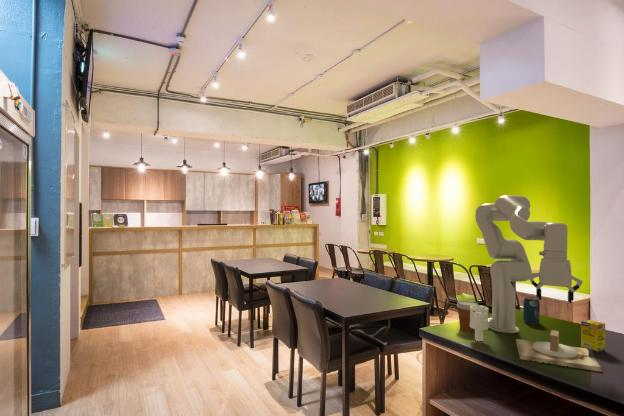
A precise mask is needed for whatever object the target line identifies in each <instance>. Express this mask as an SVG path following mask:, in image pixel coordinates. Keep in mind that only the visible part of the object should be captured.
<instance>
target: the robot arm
mask: <svg viewBox="0 0 624 416" xmlns="http://www.w3.org/2000/svg"><path fill="white" fill-rule="evenodd" d="M530 209H531V202H530V200H529V198H527V197H526V196H524V195H512V194H511V195H510V194H509V195H506V194H505V195H502V196H499V197H498V198H497V199H496V200H495V202H494V203H483V204H480V205H478V206H477V207H476V210H475V221H476V224H477V227H478V229H479V230H480V232H481V234H482V236H483V237H482V238H483V241H484V244H485V246H486V250H487V254H488V255H489V257H490V258H491V259H492V260H496V261H493V262H492V263H491V264H490V268H489V269H490V271H489V273H490V277H491V286H492V288H491V290H492V292H491V293H492V294H491V295H492V298H491V299H492V303H491V306H492V307H491V308H492V309H491V310H492V311H491V312H492V313H491V316H490V317H488V329H490V330H492V331H493V332H498V333H504V334H517V333H519V332H520V328H519V327H517V326H516V300H517V299H516V296H517V295H516V294H517V293H516V290H515V287H514V286H513V284H512V282H527V281H530V283H531V285H533V286H534V288H536V293H535V294H536V297H535V298H538V300H539V301H541V300H542V289H541V288H542V287H544V286H549V287H559V288H560V287H561V288H567V289H568V291H567V302H568V303H569V304H572V301H574V299H575V298H574V297H575V296H574V293H575V292H576V291H578V290H579V289H580V287H581V286H582V284H583V283H584V280H581V279H580V278H577V277H576V276H574V275H573V274H572V266H571V261H570V259H568V229H569V228H568V225H567V224H566V223H564V222H552V221H537V220H536V221H528V220H529V219H530V217H531V210H530ZM494 222H509V227H510V230H511V231H512V233H513V234H515V235H516V236H518V237H519V238H520V239H522V240H524V241H542V242H543V250H541V251H538V256H542V257H541V259H540V263H539V272H537V273H534V274H533V272H532V267H531V264H530V260H529V258H528V255H527V252H526V249H525V247H524V245H523V244H522V243H521V242H520V241H519V240H516V239H507V238H504V236H503V232H502V230H501V229H500V227H499V226H498V225H497V224H496V223H494ZM537 278H538V281H539V282H538V283H537V282H536V281H535V280H534V279H537ZM572 280H573V281H572ZM574 281H575V282H576V283H575V285H573V286H572V284H573V282H574Z"/></svg>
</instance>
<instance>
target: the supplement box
mask: <svg viewBox="0 0 624 416" xmlns="http://www.w3.org/2000/svg"><path fill="white" fill-rule="evenodd" d="M580 348H586V349H587V350H588V348H593V353H595V354H598V353H602V352H605V351H606V323H605V322H601V321H597V320H592V319H588V320H587V319H586V320H581V323H580Z"/></svg>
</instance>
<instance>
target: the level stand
mask: <svg viewBox="0 0 624 416" xmlns="http://www.w3.org/2000/svg"><path fill="white" fill-rule="evenodd" d="M535 342H536V341H533V340H528V339H527V340H526V339H520V338H519V339H518V338H516V339H515V344H516V347H517V352H518V356H519V360H523V361H524V360H525V361H529V360H531V362H535V361H536V363H542V362H544V363H543V364H548V363H550V365H556V366H561V367H567V366H568V367H569V368H575V369H581V370H588V371H594V372H602V366H601V365H600V364H599V363H598V361H597V360H596V359H595V357H594V352H593V348H588V350H587V349H586V348H581V347H578V346H570V345H568V346H569V347H571V348H573V349H575V350H576V351H577V357H575V358H558V357H552V356H548V355H545V354H542V353H539V352H537V351H535V350H534V349H533V343H535ZM579 351H582V357H579ZM537 361H538V362H537Z"/></svg>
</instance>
